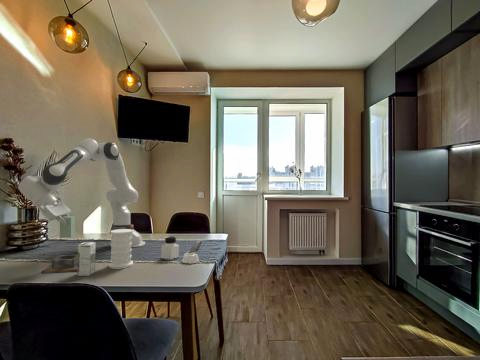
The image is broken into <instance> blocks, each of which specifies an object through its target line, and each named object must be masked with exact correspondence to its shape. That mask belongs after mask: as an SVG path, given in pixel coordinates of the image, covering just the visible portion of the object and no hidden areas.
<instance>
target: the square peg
mask: <svg viewBox="0 0 480 360" xmlns="http://www.w3.org/2000/svg"><path fill="white" fill-rule="evenodd" d="M62 218H63V219H64V220H66V221H67V222H68V223H67V224H66V225H63V224H62V223H61V222H59V238H60V239H61V238H62V239H64V238H65V239H66V238H67V239H68V238H73V237H75V235H76V232H75V231H76V229H75V227H76V226H75V225H76V216H75V215H73V216H72V215H69V216H64V217H62Z"/></svg>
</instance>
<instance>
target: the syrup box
mask: <svg viewBox="0 0 480 360" xmlns="http://www.w3.org/2000/svg"><path fill="white" fill-rule="evenodd" d="M96 244H97V243H96V242H94V241H84V242H82V243H79V244H78V245H77V255H78V263H77V271H76V276H77V277H86V276H88V277H89V276H91V275H93V274H94V273H95V272H96V271H95V270H96V246H97V245H96Z"/></svg>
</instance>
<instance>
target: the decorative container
mask: <svg viewBox="0 0 480 360" xmlns="http://www.w3.org/2000/svg"><path fill="white" fill-rule="evenodd" d="M109 233H110V235H111V237H110V242H111V241H112V244H111V243H110V244H111V246H110V254H111V256H110V260H111V262H109V264H108V267H109V268H110V269H113V270H114V269H115V270H121V269H127V268H131V267H133V266H134V261H133V260H132V258H133V255H132V253H133V249H132V247H131V246H132V243H131V240H132V236H131V234H132V233H133V230H131V229H117V230H112V229H111V230H110V231H109Z"/></svg>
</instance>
